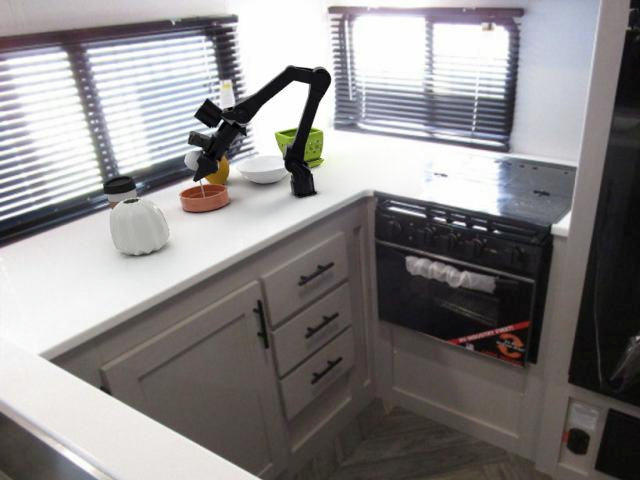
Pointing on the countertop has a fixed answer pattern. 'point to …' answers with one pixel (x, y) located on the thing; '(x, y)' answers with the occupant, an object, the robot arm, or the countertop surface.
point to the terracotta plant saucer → (197, 203)
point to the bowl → (263, 169)
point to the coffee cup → (119, 189)
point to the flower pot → (311, 150)
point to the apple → (220, 173)
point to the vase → (138, 226)
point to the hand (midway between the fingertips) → (195, 178)
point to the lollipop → (193, 163)
